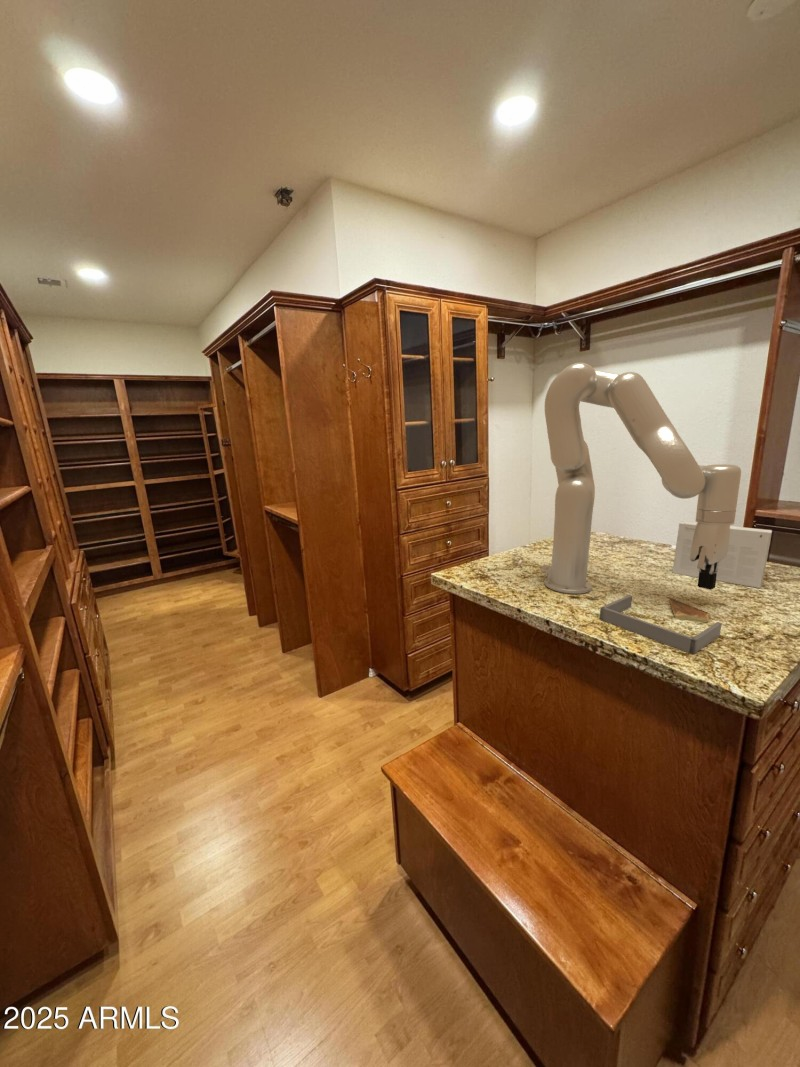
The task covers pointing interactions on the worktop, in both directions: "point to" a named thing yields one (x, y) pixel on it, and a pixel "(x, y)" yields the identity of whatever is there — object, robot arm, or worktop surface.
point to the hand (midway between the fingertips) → (706, 587)
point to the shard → (688, 612)
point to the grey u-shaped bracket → (656, 628)
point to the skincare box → (728, 555)
